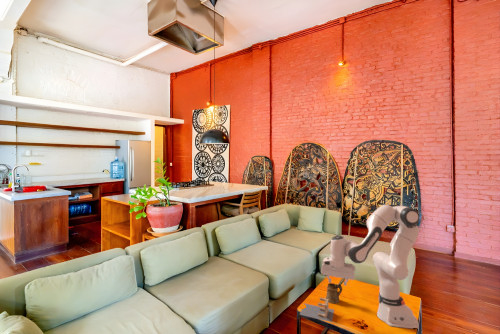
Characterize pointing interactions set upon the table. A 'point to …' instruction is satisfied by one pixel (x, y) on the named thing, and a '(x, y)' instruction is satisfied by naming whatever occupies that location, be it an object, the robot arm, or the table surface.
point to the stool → (323, 308)
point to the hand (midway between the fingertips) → (337, 283)
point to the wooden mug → (334, 291)
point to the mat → (316, 312)
